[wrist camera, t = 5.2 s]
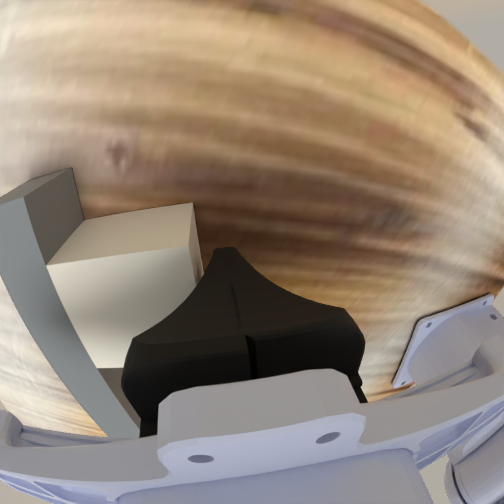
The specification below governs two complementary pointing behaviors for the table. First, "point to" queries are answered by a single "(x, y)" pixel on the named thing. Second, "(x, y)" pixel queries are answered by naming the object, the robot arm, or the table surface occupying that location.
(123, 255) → the cream block
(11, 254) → the gray bar
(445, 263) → the table surface
